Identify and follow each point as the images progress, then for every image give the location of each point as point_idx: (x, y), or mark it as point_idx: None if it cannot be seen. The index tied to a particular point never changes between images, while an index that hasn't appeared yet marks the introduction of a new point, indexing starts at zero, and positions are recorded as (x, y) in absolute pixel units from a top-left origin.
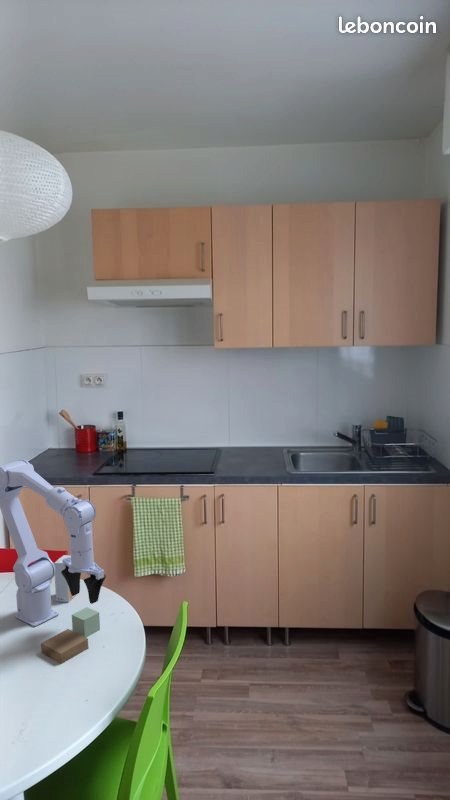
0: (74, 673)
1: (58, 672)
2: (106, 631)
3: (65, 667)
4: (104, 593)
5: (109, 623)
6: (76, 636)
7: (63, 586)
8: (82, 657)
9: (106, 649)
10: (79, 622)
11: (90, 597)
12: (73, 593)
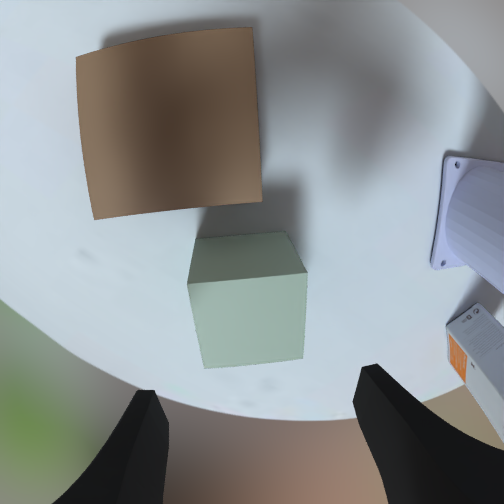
0: (17, 83)
1: (62, 36)
2: (177, 320)
3: (66, 68)
4: None
5: None
6: (151, 190)
7: (487, 350)
8: (72, 151)
9: (63, 250)
10: (231, 266)
11: (118, 428)
12: (367, 382)
